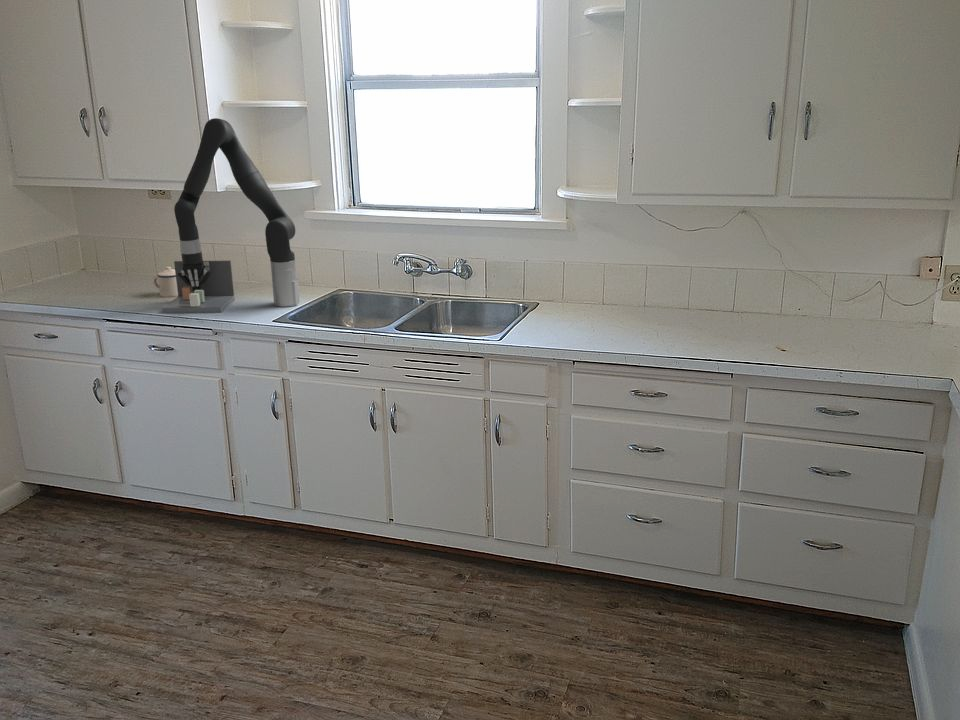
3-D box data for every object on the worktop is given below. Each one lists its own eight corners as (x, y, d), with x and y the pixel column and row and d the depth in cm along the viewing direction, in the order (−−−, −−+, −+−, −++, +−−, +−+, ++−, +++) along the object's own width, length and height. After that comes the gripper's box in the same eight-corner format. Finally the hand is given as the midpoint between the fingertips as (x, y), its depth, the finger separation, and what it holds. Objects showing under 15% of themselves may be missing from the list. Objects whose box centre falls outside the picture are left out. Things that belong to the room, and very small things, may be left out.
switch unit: (234, 300, 346) (230, 260, 341) (221, 312, 328) (216, 270, 323) (179, 300, 346) (174, 260, 341) (163, 313, 328) (157, 271, 323)
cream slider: (200, 304, 330) (199, 293, 328) (198, 306, 327) (197, 294, 326) (192, 304, 330) (191, 293, 328) (190, 306, 327) (189, 294, 326)
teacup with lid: (187, 292, 358) (184, 265, 355) (174, 298, 350) (171, 269, 346) (162, 291, 361) (158, 263, 358) (148, 296, 353) (145, 268, 350)
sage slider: (204, 301, 335) (203, 289, 333) (202, 302, 332) (201, 291, 331) (197, 301, 335) (195, 289, 333) (195, 302, 332) (193, 291, 331)
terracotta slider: (192, 297, 340) (191, 286, 339) (190, 299, 338) (189, 288, 336) (185, 298, 340) (183, 286, 339) (183, 299, 338) (181, 288, 336)
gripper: (211, 248, 336) (217, 292, 342) (177, 250, 337) (183, 293, 342) (205, 252, 329) (211, 297, 335) (170, 253, 330) (177, 298, 335)
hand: (197, 295), depth 338 cm, fingers closed
